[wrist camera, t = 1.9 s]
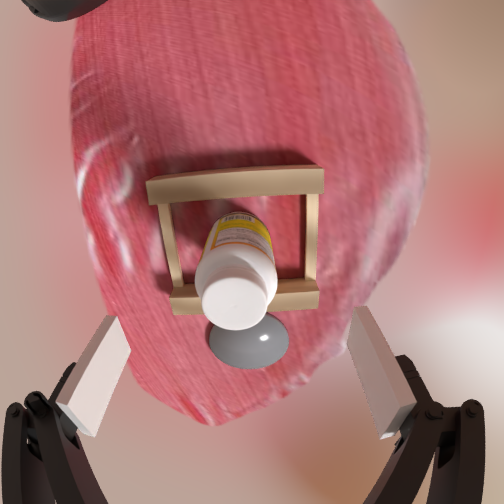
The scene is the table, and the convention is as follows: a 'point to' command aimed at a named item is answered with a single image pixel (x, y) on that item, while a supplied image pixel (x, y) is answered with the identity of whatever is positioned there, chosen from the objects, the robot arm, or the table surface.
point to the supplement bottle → (236, 272)
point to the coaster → (250, 344)
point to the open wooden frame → (232, 186)
